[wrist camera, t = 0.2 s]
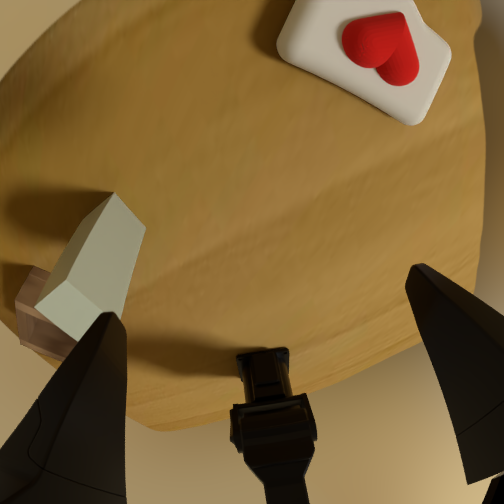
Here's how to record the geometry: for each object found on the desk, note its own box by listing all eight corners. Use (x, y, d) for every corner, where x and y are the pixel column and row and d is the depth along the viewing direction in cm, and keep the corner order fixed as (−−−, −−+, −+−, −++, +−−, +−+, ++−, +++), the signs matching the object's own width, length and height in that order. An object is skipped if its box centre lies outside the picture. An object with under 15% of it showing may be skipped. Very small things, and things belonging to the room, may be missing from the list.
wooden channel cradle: (120, 300, 27) (110, 338, 24) (107, 341, 31) (100, 375, 27) (33, 265, 24) (14, 299, 20) (33, 312, 27) (20, 344, 24)
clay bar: (146, 228, 23) (119, 324, 15) (113, 250, 24) (81, 344, 16) (114, 192, 21) (65, 279, 13) (83, 219, 22) (34, 307, 14)
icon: (480, 37, 12) (434, 142, 17) (445, 33, 15) (403, 125, 20) (341, -70, 8) (279, 55, 13) (318, -51, 11) (266, 55, 17)
